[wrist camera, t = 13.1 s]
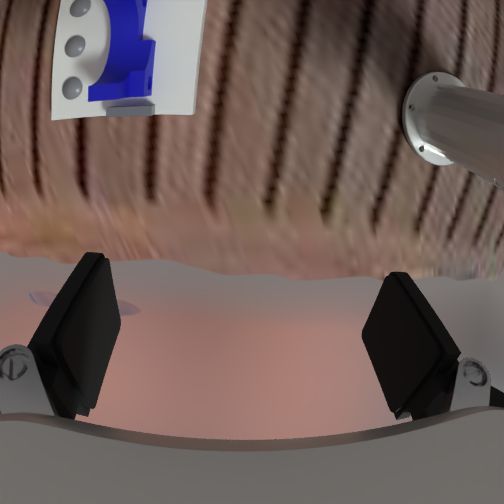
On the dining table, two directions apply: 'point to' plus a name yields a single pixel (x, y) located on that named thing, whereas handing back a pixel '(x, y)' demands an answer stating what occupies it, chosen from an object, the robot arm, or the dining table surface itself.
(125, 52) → the cable clip
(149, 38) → the white square board
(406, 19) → the dining table surface
